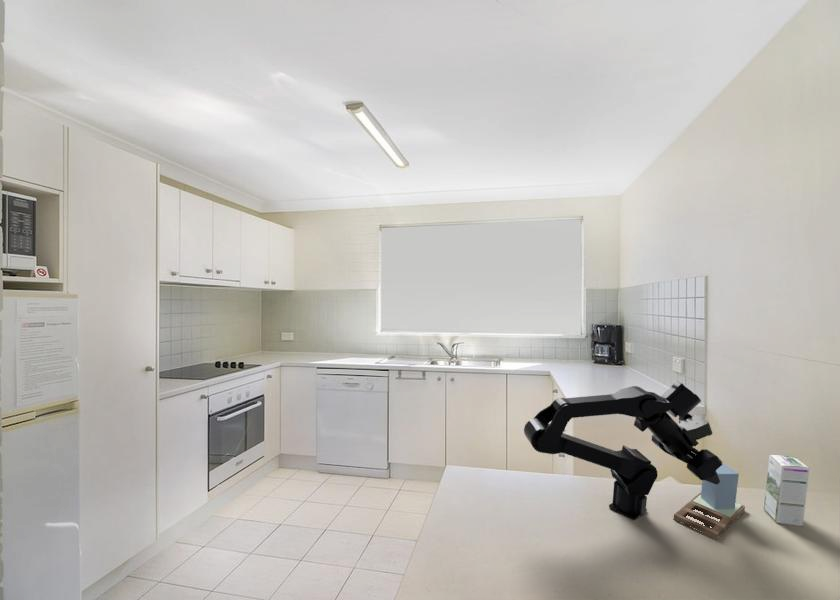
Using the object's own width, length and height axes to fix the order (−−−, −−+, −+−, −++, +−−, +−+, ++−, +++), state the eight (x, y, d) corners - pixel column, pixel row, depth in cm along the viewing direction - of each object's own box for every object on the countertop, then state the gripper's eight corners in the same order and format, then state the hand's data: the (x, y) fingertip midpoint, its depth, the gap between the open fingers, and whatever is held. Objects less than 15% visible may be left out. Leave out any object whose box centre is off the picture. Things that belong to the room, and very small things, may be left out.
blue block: (714, 509, 107) (718, 473, 106) (700, 497, 112) (704, 463, 111) (734, 508, 107) (738, 473, 106) (719, 497, 112) (723, 463, 111)
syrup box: (804, 526, 103) (812, 467, 101) (775, 523, 104) (782, 464, 103) (789, 512, 109) (796, 456, 107) (761, 509, 110) (768, 453, 108)
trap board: (673, 519, 105) (674, 513, 105) (703, 494, 116) (704, 489, 116) (716, 539, 98) (717, 533, 98) (744, 510, 109) (745, 505, 109)
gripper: (719, 422, 97) (760, 470, 99) (667, 393, 115) (703, 434, 117) (680, 456, 97) (722, 503, 99) (635, 422, 116) (671, 462, 118)
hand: (704, 473), depth 109 cm, fingers open, 9 cm apart
